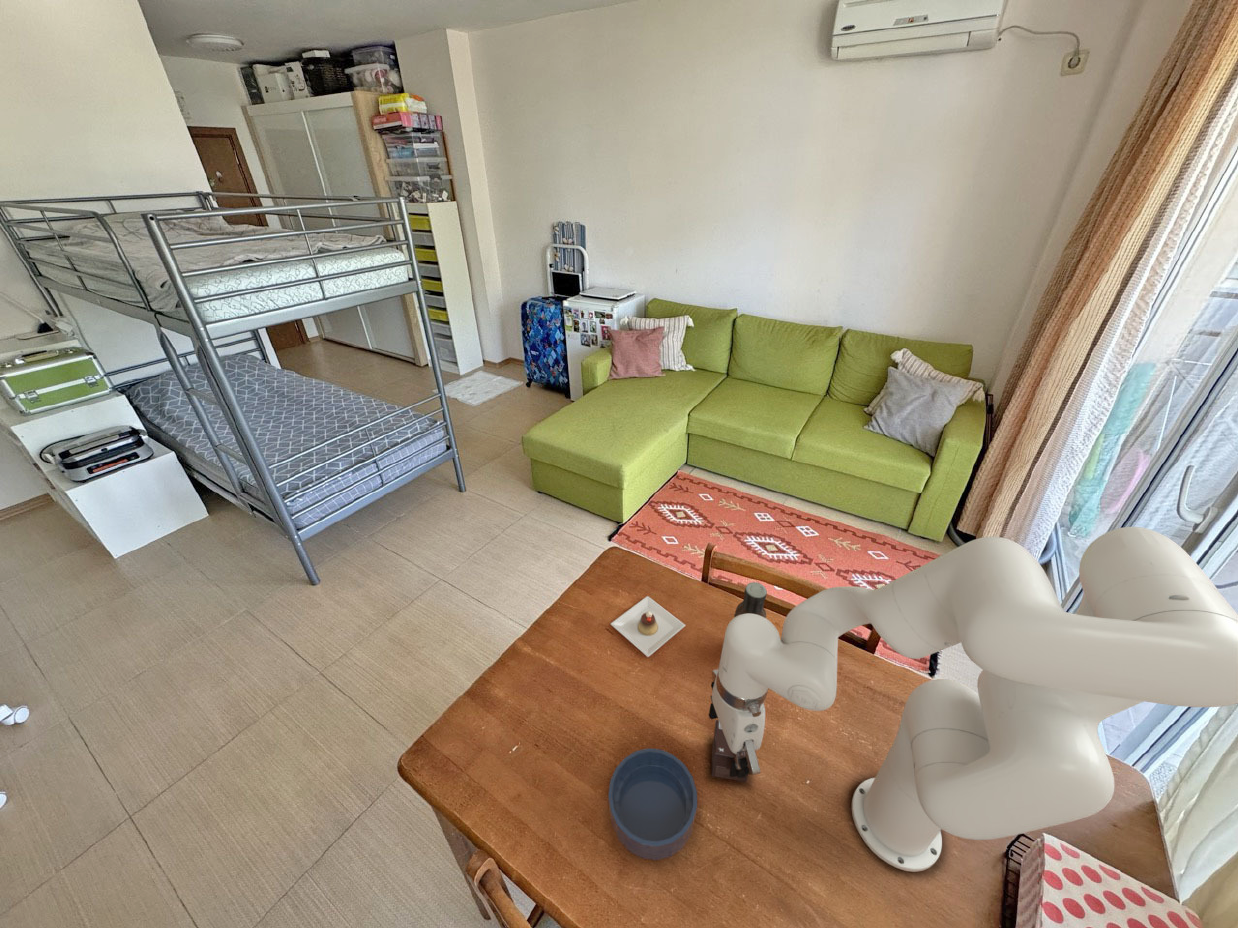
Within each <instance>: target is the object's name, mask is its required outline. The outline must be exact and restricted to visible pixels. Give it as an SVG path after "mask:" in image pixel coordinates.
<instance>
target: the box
mask: <svg viewBox="0 0 1238 928" xmlns="http://www.w3.org/2000/svg"><path fill="white" fill-rule="evenodd" d="M711 748H712V749H711V777H715V778H720V779H726V780H731V781H736V782H737V781H738V782H742V783H747V782H748V779H749V774H747V776H746V777H743V778H738V777H737V776H736V777H730V774H729V773H730V768H731V764H732V761H734V753H733V752H732V751H731V750H730V748H729V746H728V743H727V741H726V738H725V736H724V733H723V730H722V728H721V725H720V722H719V719H715V723H714V731H713V738H712V747H711ZM739 755H740V758H745V757H746V754H745V752H740V753H739Z"/></svg>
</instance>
